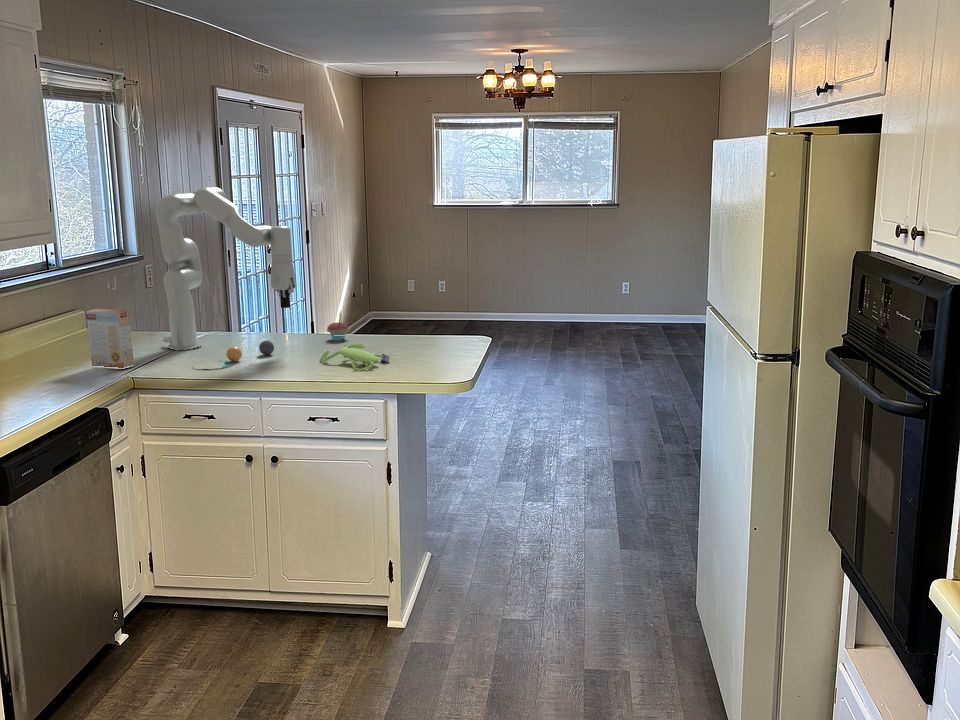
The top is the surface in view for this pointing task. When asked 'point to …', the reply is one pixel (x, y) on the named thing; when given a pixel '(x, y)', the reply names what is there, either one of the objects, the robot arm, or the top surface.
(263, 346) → the dark gray ball
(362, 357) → the figurine
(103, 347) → the cracker box
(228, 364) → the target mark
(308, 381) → the top surface
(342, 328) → the cupcake
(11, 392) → the top surface
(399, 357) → the top surface
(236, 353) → the object ball
